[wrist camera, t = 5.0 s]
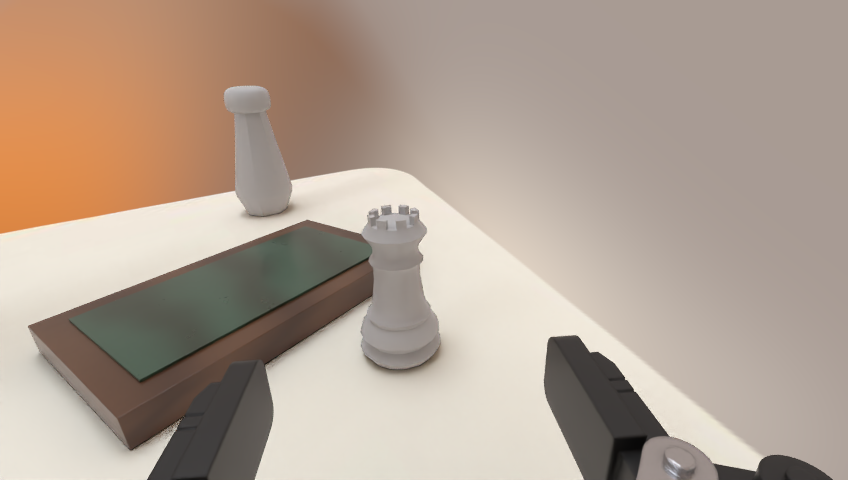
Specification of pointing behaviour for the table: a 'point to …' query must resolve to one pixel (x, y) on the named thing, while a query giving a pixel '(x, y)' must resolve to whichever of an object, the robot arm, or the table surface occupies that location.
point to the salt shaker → (257, 153)
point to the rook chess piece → (397, 292)
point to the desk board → (203, 323)
